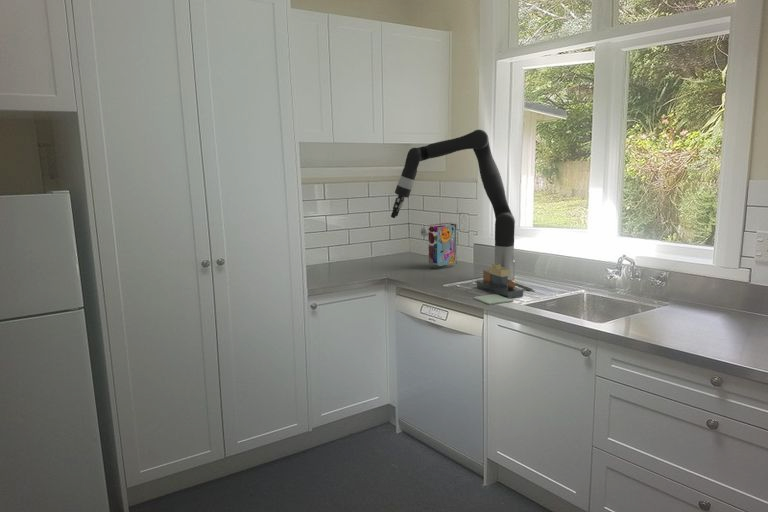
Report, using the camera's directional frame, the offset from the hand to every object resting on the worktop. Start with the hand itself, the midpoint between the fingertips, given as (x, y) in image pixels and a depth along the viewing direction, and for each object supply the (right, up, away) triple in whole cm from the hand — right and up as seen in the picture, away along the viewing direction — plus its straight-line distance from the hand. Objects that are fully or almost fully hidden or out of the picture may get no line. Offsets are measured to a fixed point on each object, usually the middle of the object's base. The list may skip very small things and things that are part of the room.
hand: (393, 216), depth 282 cm
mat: (+42, -39, -45) cm, 72 cm away
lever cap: (+47, -28, -32) cm, 63 cm away
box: (+24, -27, +24) cm, 44 cm away
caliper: (+56, -35, -23) cm, 70 cm away
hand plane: (+47, -36, -30) cm, 67 cm away
